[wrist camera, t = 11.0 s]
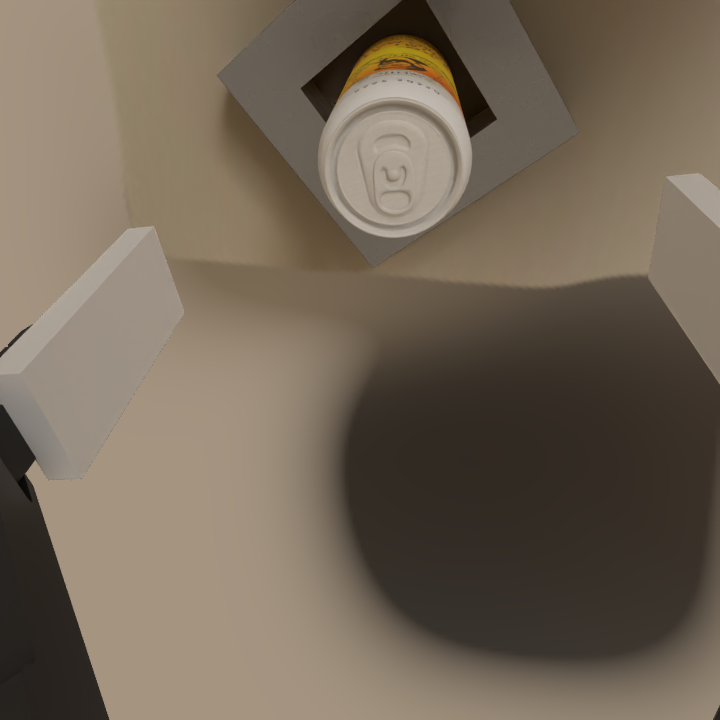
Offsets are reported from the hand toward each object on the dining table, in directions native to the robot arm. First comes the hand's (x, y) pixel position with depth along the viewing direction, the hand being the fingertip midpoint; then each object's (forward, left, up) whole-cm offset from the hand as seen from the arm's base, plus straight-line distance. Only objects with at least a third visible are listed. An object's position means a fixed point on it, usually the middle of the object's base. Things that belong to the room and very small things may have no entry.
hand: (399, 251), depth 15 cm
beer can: (0, -1, -23) cm, 23 cm away
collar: (0, -1, -23) cm, 23 cm away
